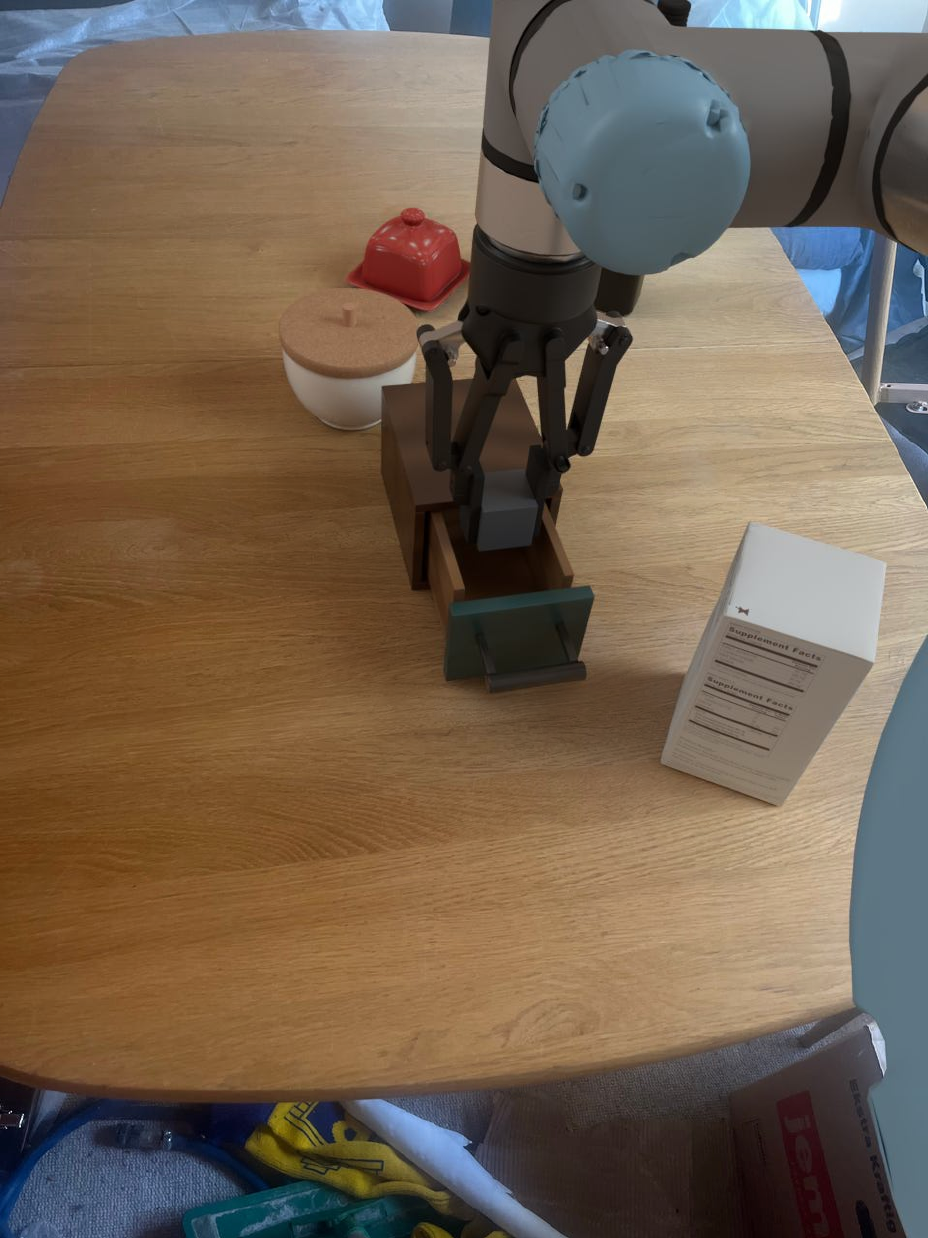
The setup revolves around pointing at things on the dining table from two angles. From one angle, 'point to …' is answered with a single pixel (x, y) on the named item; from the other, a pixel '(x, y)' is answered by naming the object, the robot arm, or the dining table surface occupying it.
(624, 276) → the wine bottle
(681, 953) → the dining table surface
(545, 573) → the drawer
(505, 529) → the block
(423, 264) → the butter dish
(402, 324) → the lidded bowl
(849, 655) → the supplement box
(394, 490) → the cabinet
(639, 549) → the dining table surface
